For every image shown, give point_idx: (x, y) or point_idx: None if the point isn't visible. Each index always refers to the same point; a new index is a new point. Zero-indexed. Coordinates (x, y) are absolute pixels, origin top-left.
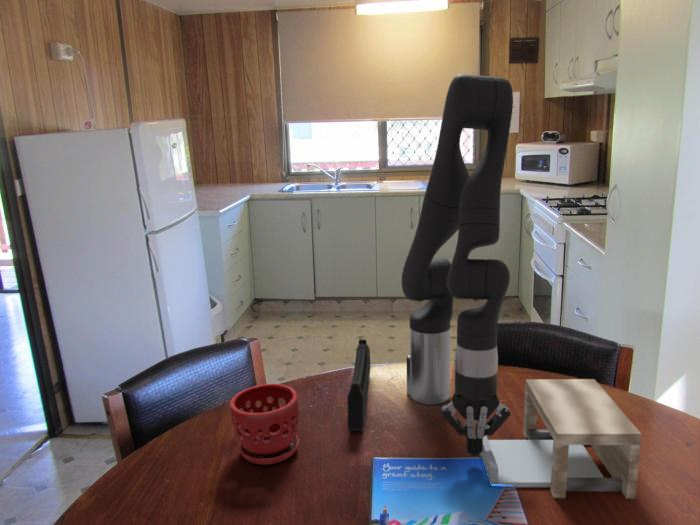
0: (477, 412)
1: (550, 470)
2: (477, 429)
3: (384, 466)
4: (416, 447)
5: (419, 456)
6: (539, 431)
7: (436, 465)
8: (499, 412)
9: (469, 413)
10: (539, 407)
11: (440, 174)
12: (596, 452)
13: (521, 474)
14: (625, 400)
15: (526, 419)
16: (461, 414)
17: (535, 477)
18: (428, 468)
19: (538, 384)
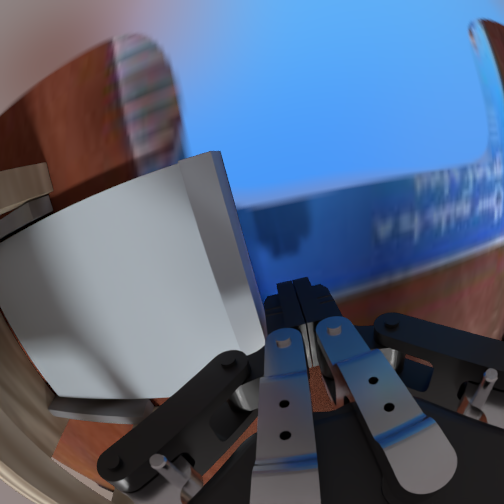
0: (335, 464)
1: (58, 277)
2: (305, 365)
3: (501, 204)
4: (439, 308)
5: (439, 270)
6: (123, 418)
7: (402, 237)
8: (167, 478)
9: (413, 432)
10: (24, 463)
11: None
12: (28, 362)
13: (120, 233)
14: (68, 462)
15: None
16: (443, 407)
17: (82, 229)
18: (423, 216)
19: None
